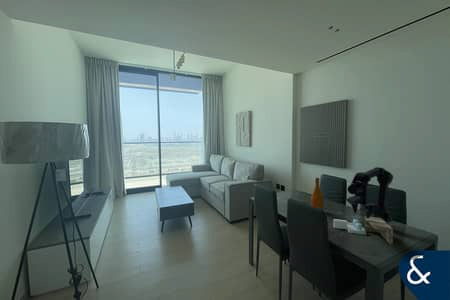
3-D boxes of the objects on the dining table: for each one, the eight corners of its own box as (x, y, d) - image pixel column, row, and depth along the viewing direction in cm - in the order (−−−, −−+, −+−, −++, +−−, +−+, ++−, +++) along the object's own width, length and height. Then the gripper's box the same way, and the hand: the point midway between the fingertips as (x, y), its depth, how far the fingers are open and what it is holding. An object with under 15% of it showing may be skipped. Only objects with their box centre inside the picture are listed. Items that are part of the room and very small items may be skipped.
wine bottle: (313, 208, 175) (313, 176, 173) (324, 211, 168) (325, 177, 166) (309, 211, 168) (309, 177, 166) (320, 214, 161) (321, 179, 159)
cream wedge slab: (364, 230, 132) (365, 216, 132) (380, 232, 129) (380, 218, 129) (374, 242, 117) (374, 226, 116) (392, 245, 114) (393, 228, 114)
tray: (332, 223, 144) (332, 216, 144) (360, 226, 138) (360, 219, 138) (335, 230, 133) (335, 223, 132) (366, 234, 127) (366, 226, 126)
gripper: (340, 189, 133) (339, 211, 133) (364, 197, 114) (363, 222, 115) (353, 188, 135) (353, 210, 136) (379, 196, 116) (379, 221, 117)
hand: (361, 215), depth 126 cm, fingers open, 9 cm apart
